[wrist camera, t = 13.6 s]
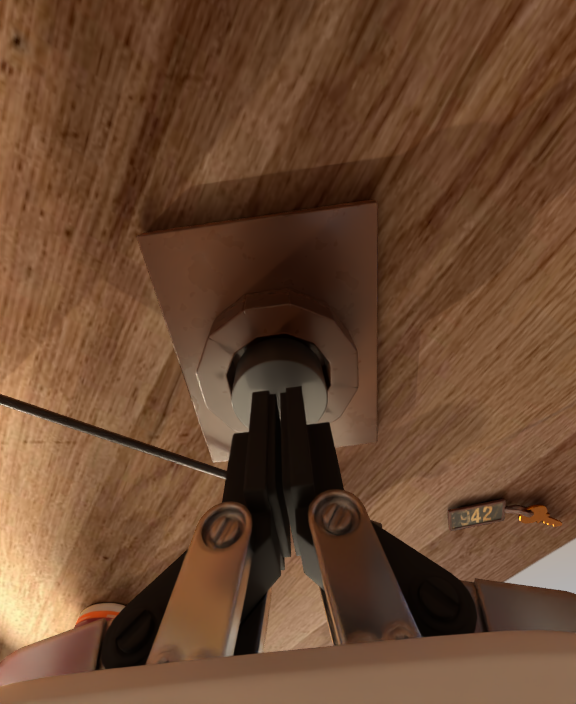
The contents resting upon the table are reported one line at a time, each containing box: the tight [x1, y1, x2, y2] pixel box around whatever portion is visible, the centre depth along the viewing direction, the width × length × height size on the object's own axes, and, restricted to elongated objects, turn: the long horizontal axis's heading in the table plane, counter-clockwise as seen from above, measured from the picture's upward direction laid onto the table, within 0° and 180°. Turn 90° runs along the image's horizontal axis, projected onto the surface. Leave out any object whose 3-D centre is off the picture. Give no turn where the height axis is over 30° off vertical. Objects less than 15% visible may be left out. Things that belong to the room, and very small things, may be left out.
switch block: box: [137, 200, 378, 462], centre depth 15 cm, size 9×12×2 cm
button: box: [231, 338, 328, 428], centre depth 13 cm, size 4×4×2 cm
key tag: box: [448, 499, 562, 531], centre depth 22 cm, size 8×3×1 cm, turn 91°
